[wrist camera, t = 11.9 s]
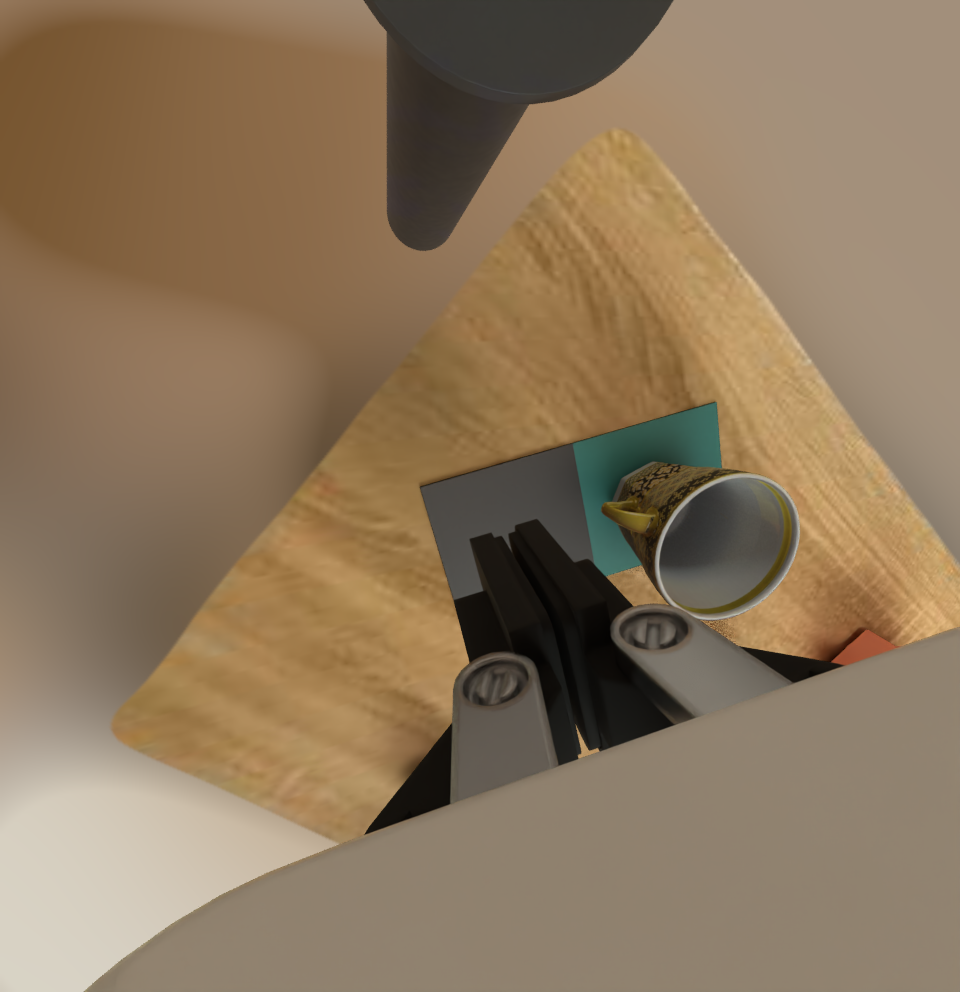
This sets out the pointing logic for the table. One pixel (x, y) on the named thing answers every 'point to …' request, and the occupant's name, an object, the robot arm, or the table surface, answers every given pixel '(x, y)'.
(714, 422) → the plate
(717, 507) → the ceramic cup
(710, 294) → the table surface
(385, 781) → the table surface
